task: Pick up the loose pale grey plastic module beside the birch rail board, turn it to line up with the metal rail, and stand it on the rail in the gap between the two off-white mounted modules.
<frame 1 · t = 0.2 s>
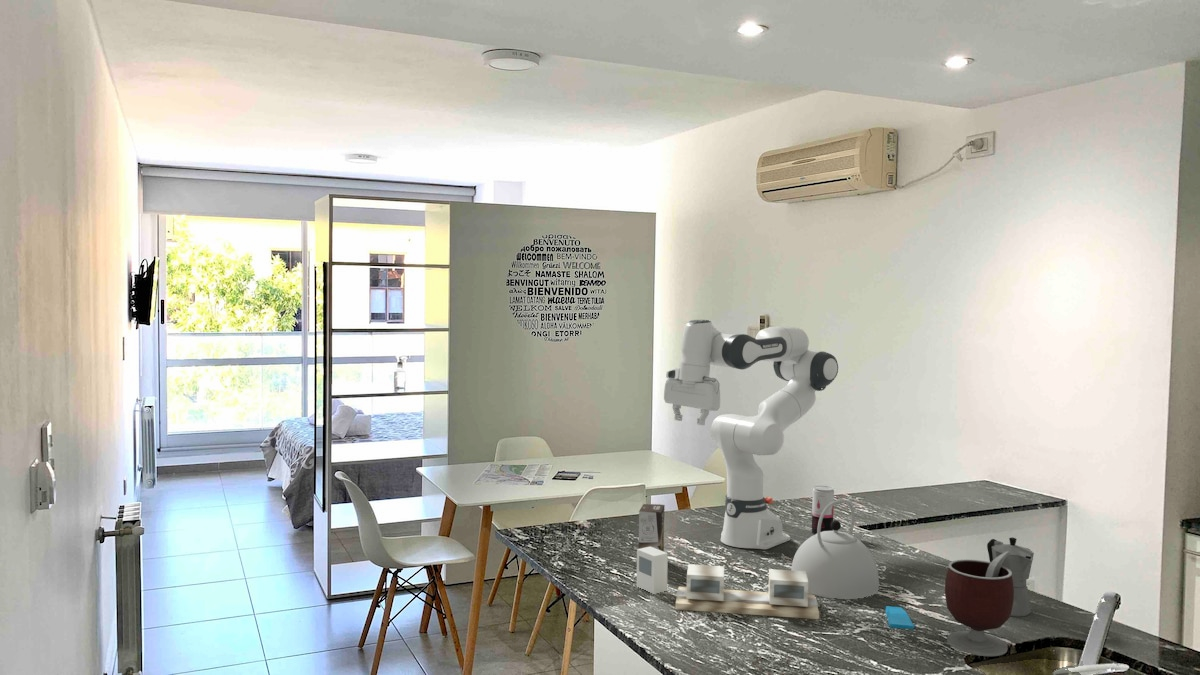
hand: (689, 422, 250), 39 cm above the worktop, tool pointing down, fingers open, 8 cm apart
mate gourd: (979, 644, 191), on the worktop
coffeepot: (1006, 609, 213), on the worktop
beverage can: (822, 534, 276), on the worktop
sponge: (899, 621, 206), on the worktop
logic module: (651, 589, 224), on the worktop
coffee box: (651, 564, 244), on the worktop
kettle: (836, 583, 230), on the worktop
rail board: (746, 605, 213), on the worktop
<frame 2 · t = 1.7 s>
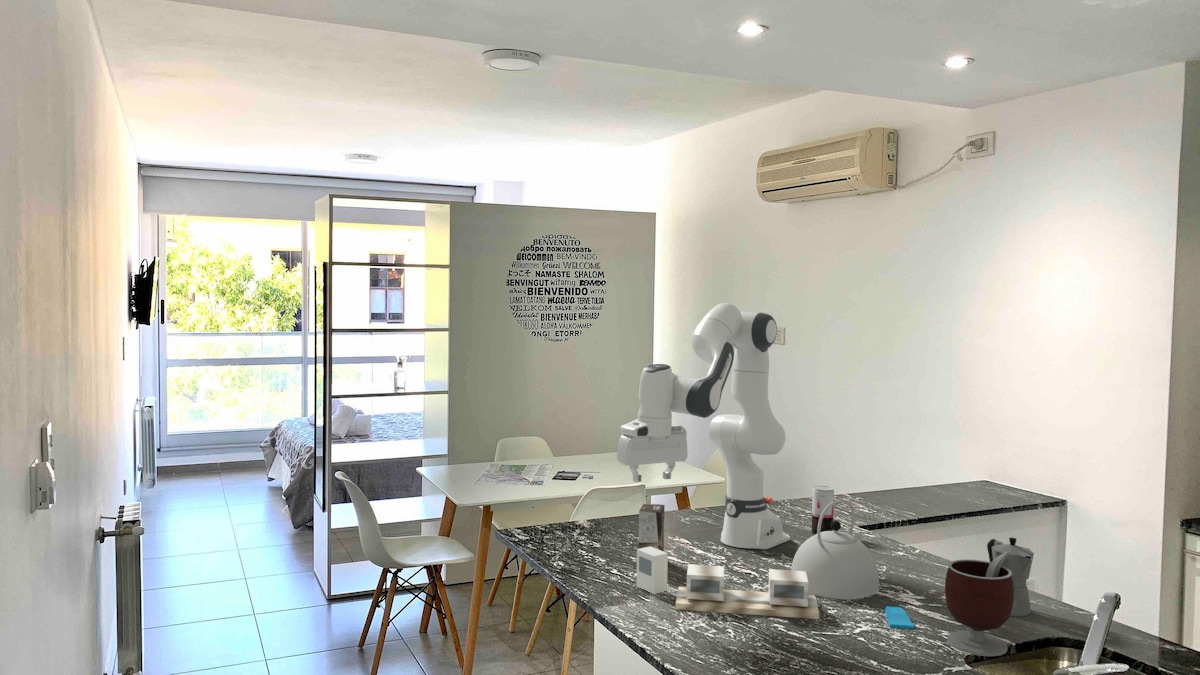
hand: (652, 480, 224), 28 cm above the worktop, tool pointing down, fingers open, 8 cm apart
nothing on the worktop moved.
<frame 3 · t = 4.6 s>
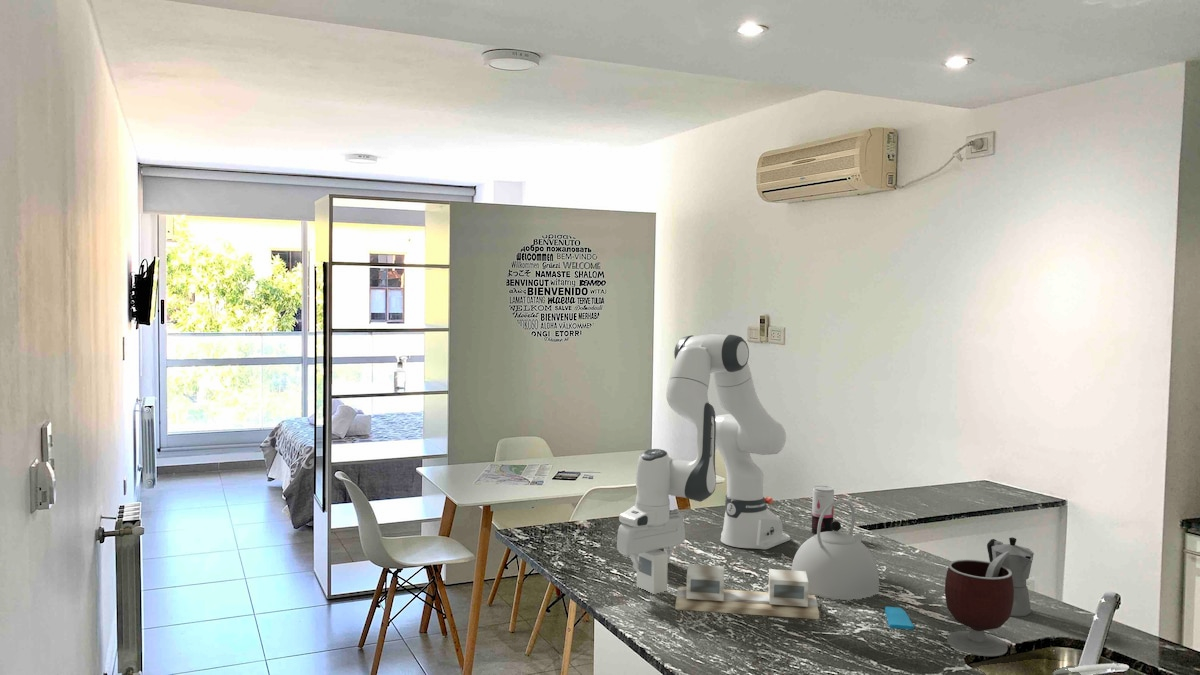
hand: (651, 566, 223), 6 cm above the worktop, tool pointing down, fingers open, 8 cm apart
nothing on the worktop moved.
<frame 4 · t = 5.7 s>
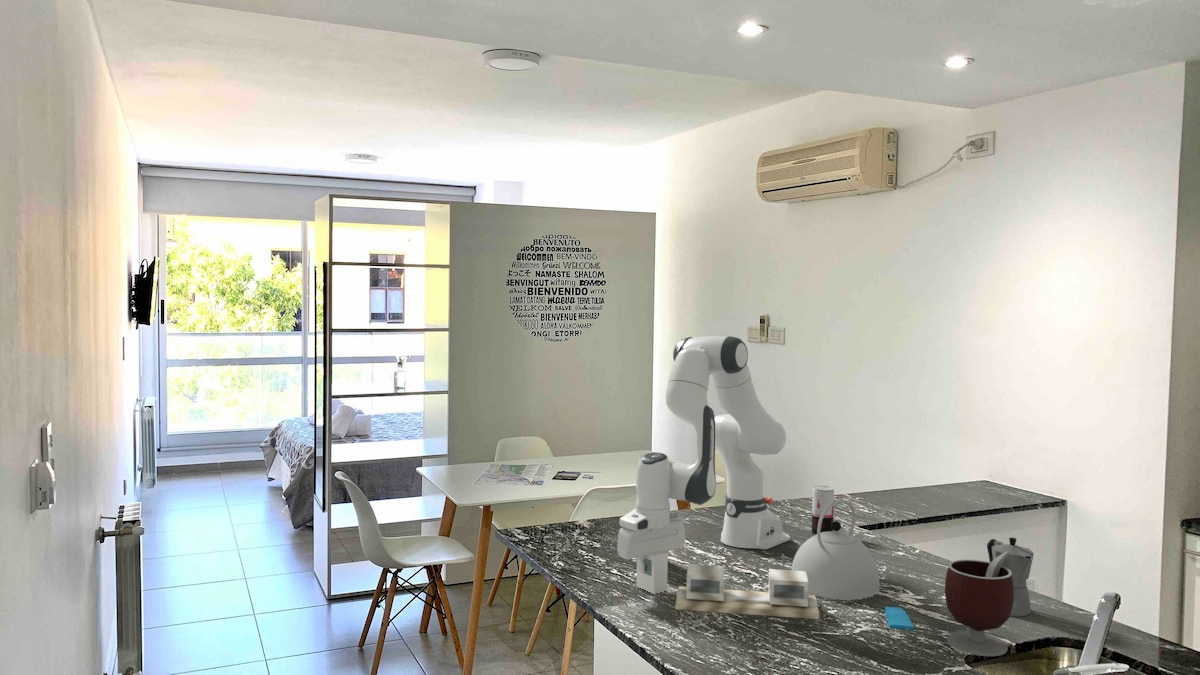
hand: (651, 569, 224), 5 cm above the worktop, tool pointing down, fingers closed on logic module, 5 cm apart
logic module: (651, 589, 224), on the worktop, touching gripper
everything else where it was.
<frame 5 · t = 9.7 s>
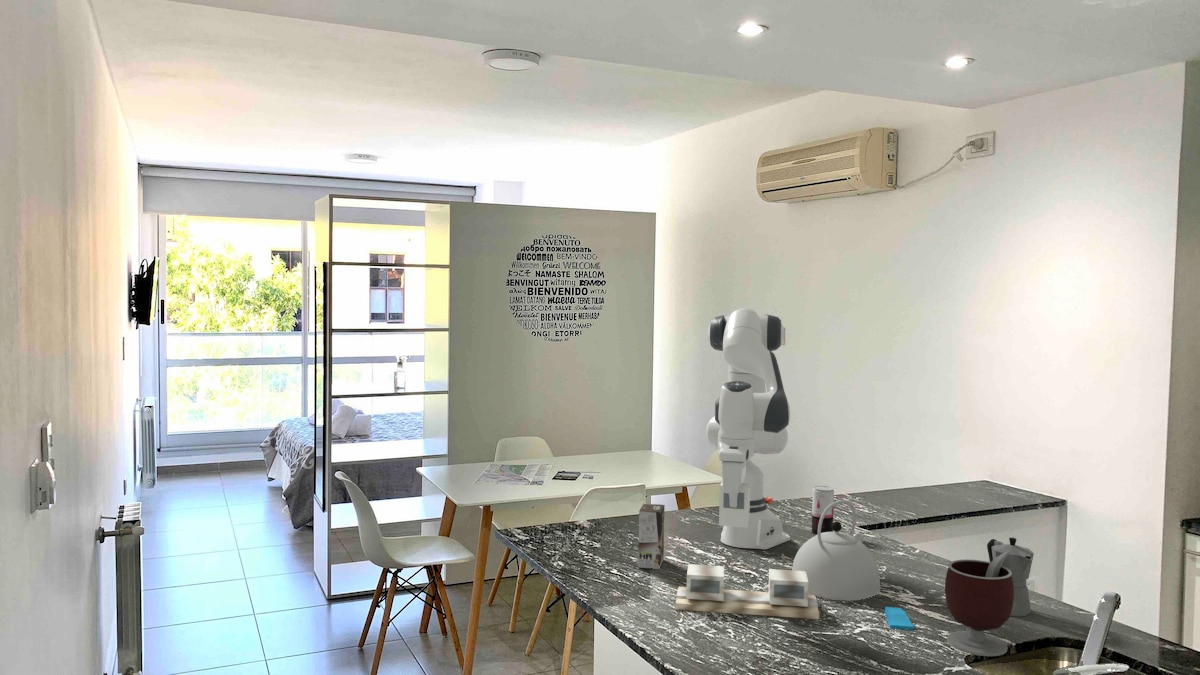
hand: (734, 503, 213), 25 cm above the worktop, tool pointing down, fingers closed on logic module, 5 cm apart
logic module: (734, 524, 213), point 20 cm above the worktop, touching gripper
everything else where it was.
when the fingers open (8 cm above the worktop, at t = 13.5 s): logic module drops 1 cm, resting on rail board.
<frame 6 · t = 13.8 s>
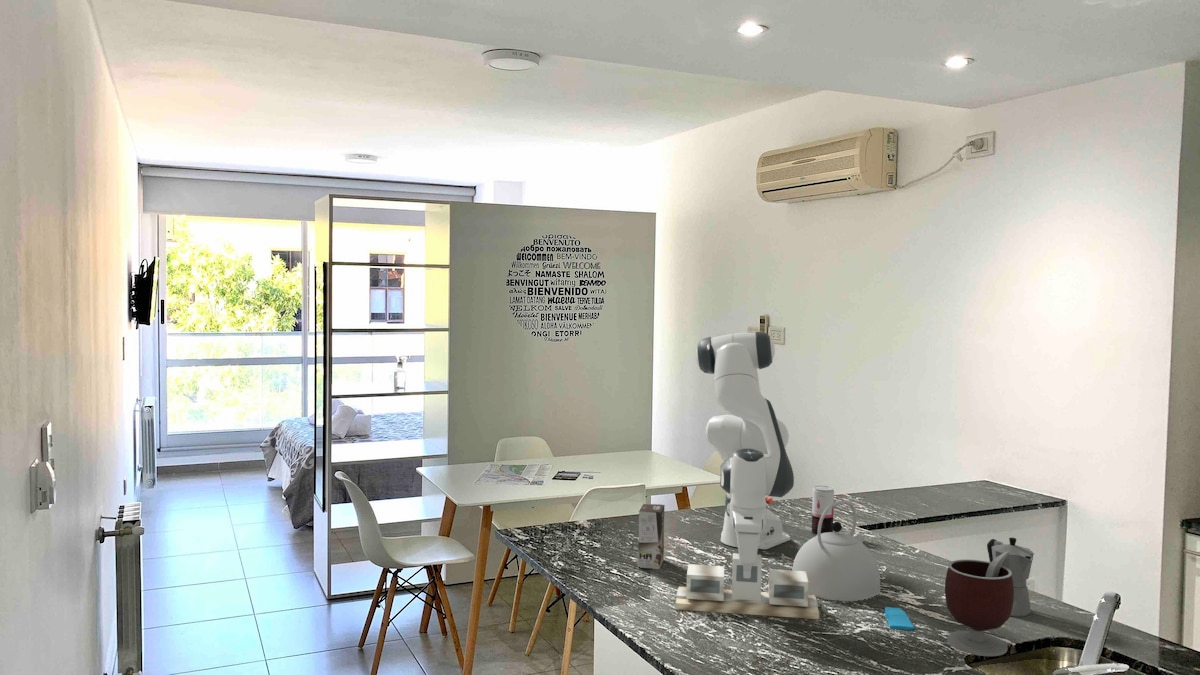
hand: (746, 571, 213), 8 cm above the worktop, tool pointing down, fingers open, 7 cm apart
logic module: (746, 596, 213), point 2 cm above the worktop, touching rail board
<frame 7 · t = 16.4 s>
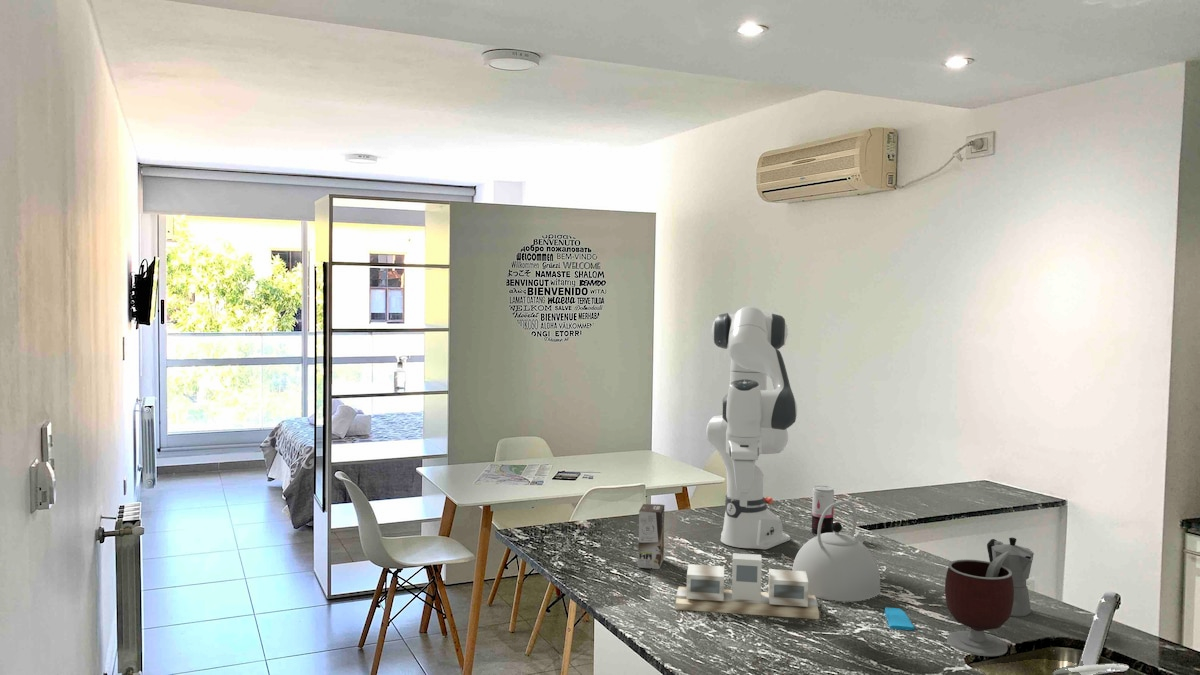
hand: (742, 500, 215), 25 cm above the worktop, tool pointing down, fingers open, 8 cm apart
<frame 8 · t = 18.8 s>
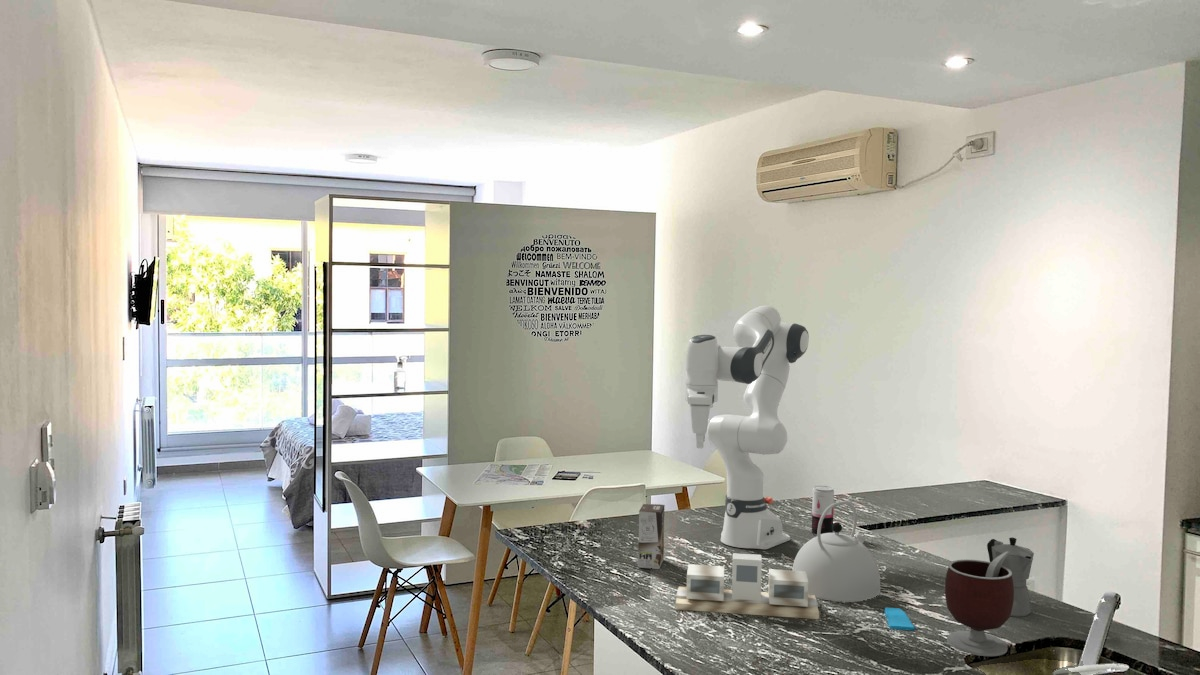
hand: (700, 444, 237), 35 cm above the worktop, tool pointing down, fingers open, 8 cm apart
at the end: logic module 0.1 cm off-centre on the rail board, point 2.1 cm above the rail board's base; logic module tilted 0°; the gripper is holding nothing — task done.
